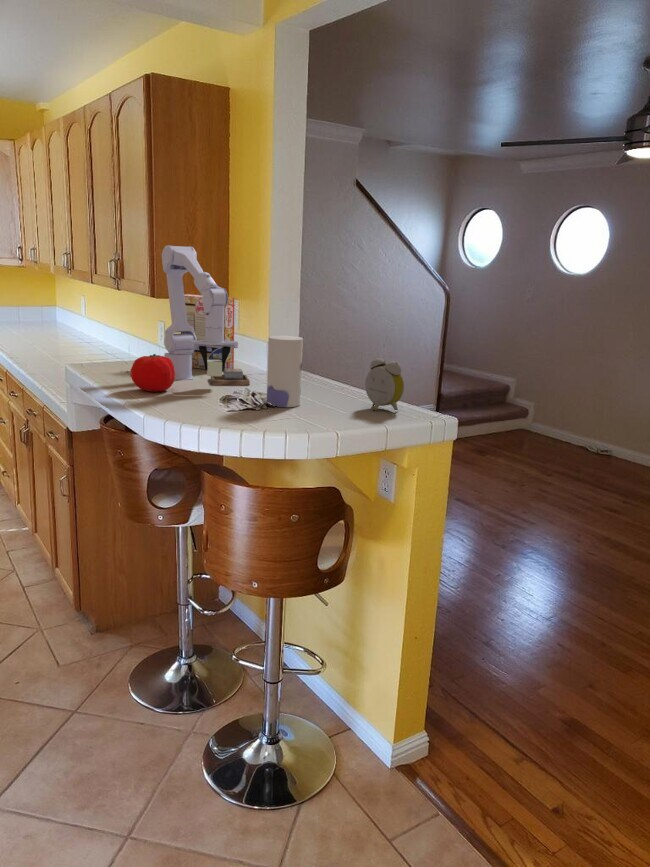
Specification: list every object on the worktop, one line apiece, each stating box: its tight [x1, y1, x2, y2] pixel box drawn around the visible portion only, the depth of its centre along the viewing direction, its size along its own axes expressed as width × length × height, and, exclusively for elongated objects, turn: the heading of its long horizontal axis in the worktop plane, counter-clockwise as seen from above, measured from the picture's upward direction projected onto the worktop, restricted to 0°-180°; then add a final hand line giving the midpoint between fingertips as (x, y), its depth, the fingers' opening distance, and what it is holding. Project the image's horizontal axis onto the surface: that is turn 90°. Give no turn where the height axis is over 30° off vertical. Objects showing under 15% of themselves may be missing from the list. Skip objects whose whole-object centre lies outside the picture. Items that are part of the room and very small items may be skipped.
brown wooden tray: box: [210, 373, 251, 387], centre depth 226 cm, size 12×11×2 cm
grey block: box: [222, 368, 244, 380], centre depth 226 cm, size 6×6×4 cm
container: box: [266, 334, 304, 408], centre depth 197 cm, size 10×10×20 cm
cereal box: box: [180, 293, 235, 370], centre depth 249 cm, size 20×6×27 cm, turn 65°
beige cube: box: [206, 360, 223, 377], centre depth 213 cm, size 4×4×4 cm
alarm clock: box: [364, 357, 405, 411], centre depth 196 cm, size 12×7×15 cm, turn 43°
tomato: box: [130, 353, 176, 392], centre depth 207 cm, size 12×13×12 cm
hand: (214, 370), depth 213 cm, fingers closed on beige cube, 4 cm apart
